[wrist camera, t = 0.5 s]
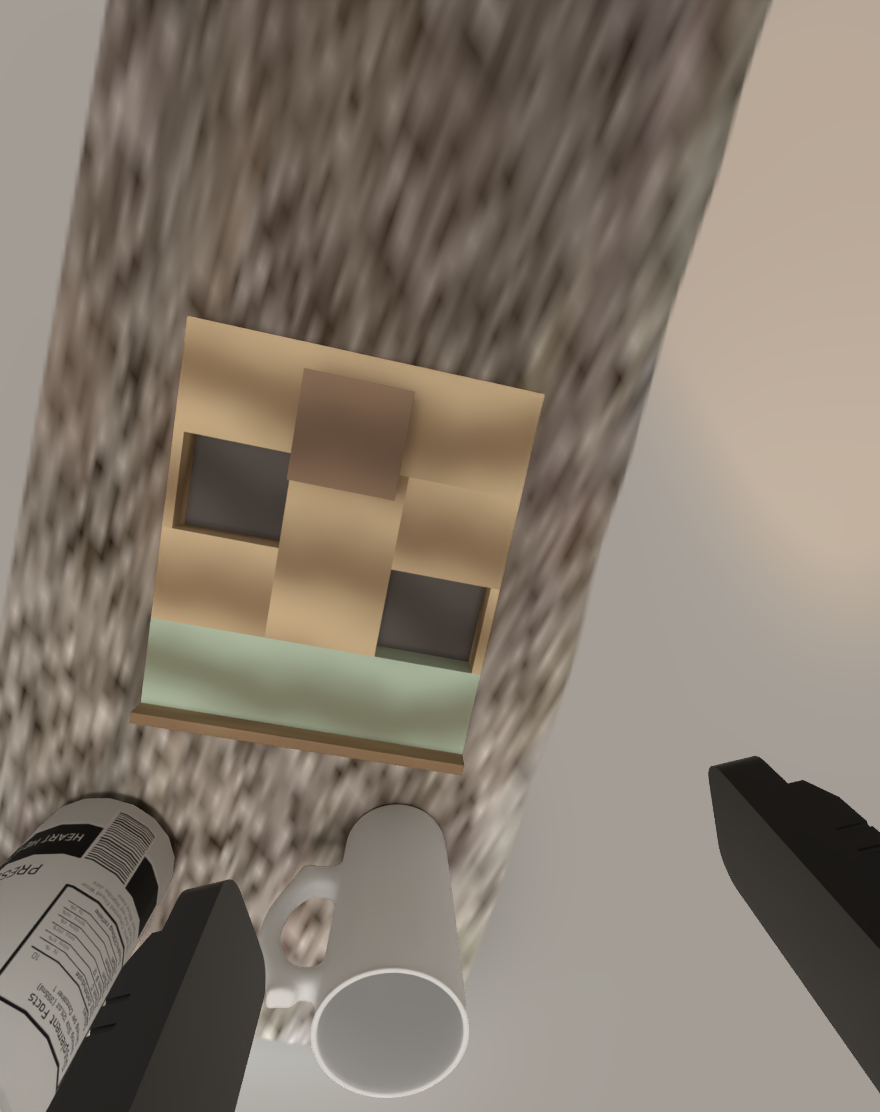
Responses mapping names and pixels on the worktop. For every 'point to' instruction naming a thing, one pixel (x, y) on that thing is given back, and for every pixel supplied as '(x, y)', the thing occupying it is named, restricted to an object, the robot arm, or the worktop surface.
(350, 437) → the block
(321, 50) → the worktop surface
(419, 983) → the mug
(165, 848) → the supplement can
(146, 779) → the worktop surface
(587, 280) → the worktop surface
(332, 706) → the board
